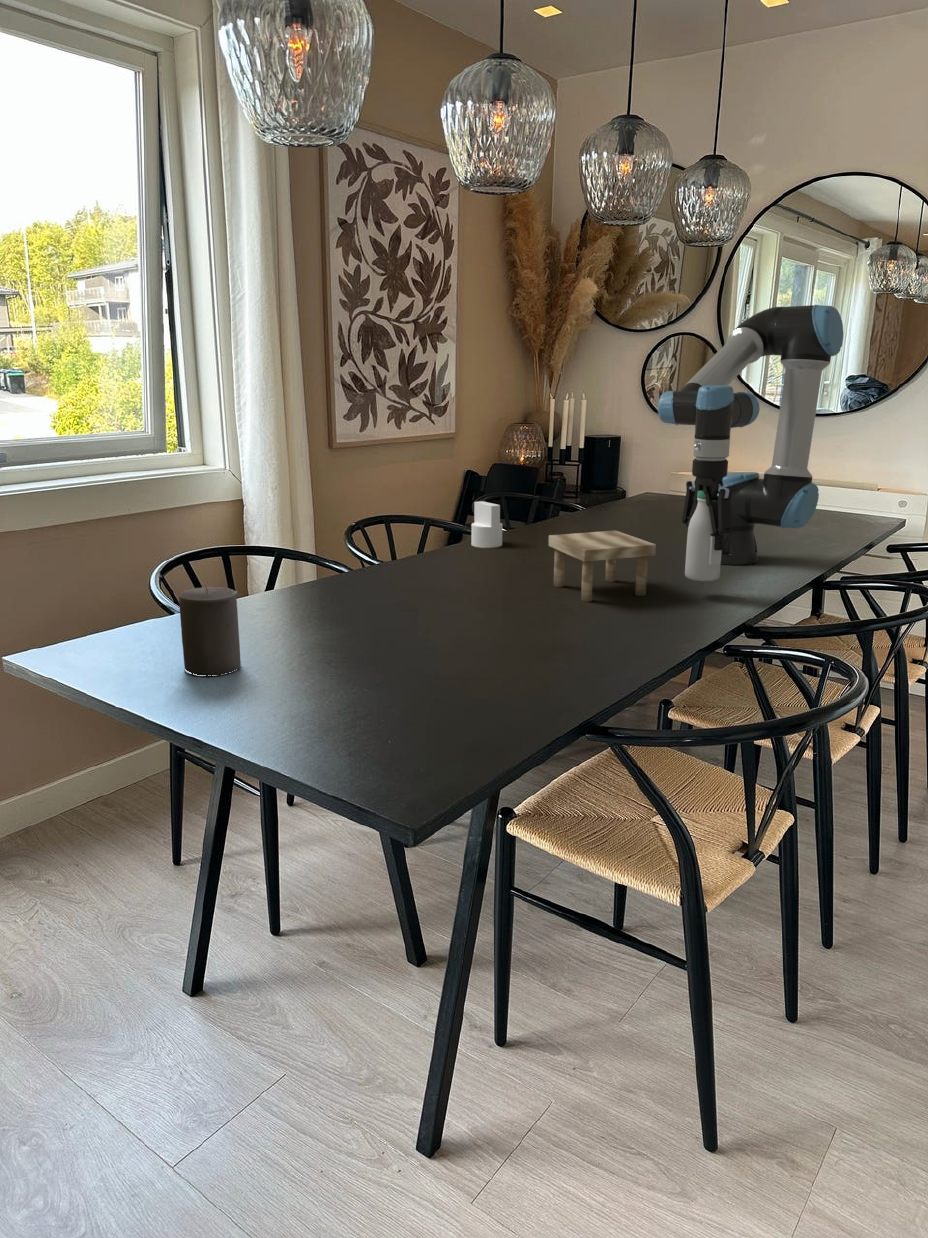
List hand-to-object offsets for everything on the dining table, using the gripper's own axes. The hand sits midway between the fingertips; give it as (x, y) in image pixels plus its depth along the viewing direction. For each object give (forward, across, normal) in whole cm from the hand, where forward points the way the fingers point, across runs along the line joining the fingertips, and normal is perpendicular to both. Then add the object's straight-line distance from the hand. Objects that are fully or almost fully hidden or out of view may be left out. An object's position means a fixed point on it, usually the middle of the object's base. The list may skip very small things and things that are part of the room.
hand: (703, 559), depth 201 cm
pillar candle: (+7, +11, -109) cm, 110 cm away
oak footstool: (+8, -13, -19) cm, 25 cm away
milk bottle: (+4, 0, 0) cm, 4 cm away
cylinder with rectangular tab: (+9, -71, -24) cm, 75 cm away
